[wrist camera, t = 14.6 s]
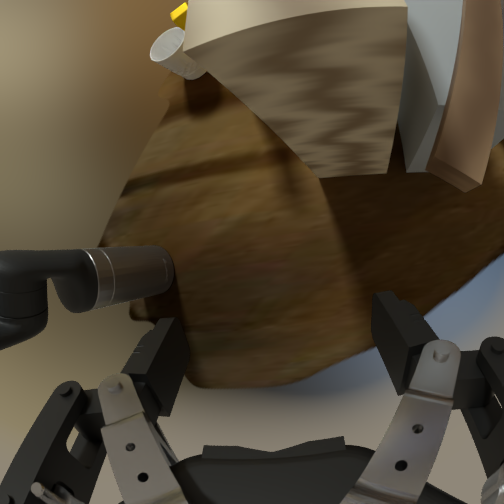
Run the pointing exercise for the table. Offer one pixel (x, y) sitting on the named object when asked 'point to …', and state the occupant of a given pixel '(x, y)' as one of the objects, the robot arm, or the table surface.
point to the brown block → (471, 98)
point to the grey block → (431, 77)
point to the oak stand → (310, 72)
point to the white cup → (175, 55)
